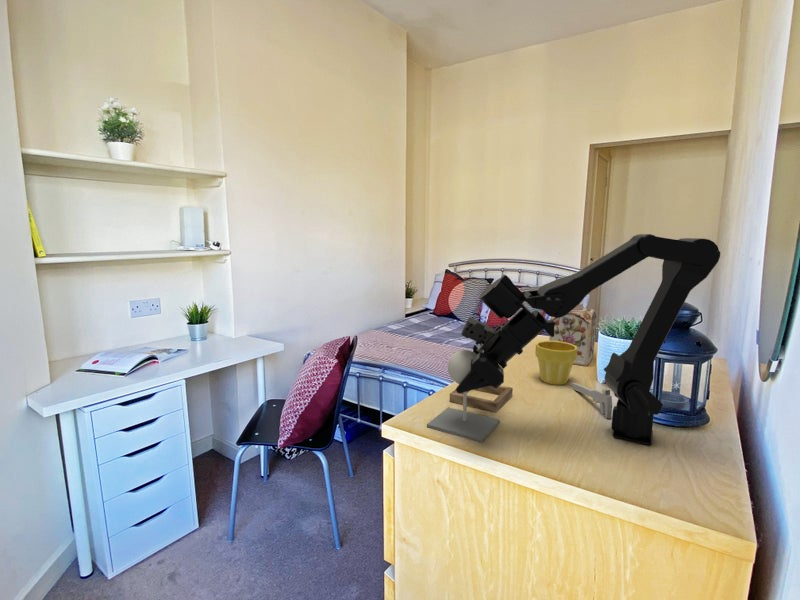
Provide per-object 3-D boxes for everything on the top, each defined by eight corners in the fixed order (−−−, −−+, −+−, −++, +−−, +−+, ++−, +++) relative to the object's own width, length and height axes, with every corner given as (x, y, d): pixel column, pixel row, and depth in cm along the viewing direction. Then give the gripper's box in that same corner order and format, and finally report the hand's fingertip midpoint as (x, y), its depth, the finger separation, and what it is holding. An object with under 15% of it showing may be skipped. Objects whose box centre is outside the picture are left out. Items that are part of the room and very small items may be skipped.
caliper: (611, 420, 89) (613, 392, 88) (606, 420, 89) (608, 392, 88) (572, 385, 110) (573, 362, 109) (568, 386, 110) (569, 362, 109)
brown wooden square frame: (512, 395, 103) (512, 387, 102) (496, 412, 93) (496, 403, 93) (468, 386, 109) (468, 379, 108) (449, 401, 99) (449, 393, 99)
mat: (499, 422, 88) (500, 419, 88) (482, 442, 80) (482, 439, 80) (448, 409, 95) (448, 407, 94) (426, 427, 86) (426, 424, 86)
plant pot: (581, 380, 113) (583, 344, 112) (565, 390, 106) (567, 352, 104) (544, 371, 120) (545, 338, 119) (527, 381, 113) (528, 345, 111)
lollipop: (475, 412, 91) (476, 345, 89) (487, 427, 84) (488, 354, 82) (443, 414, 90) (443, 346, 88) (452, 429, 83) (453, 356, 81)
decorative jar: (594, 357, 134) (598, 301, 131) (588, 367, 124) (592, 306, 121) (555, 351, 140) (558, 298, 137) (546, 360, 130) (549, 303, 128)
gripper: (486, 298, 91) (436, 345, 96) (485, 314, 73) (423, 371, 77) (523, 334, 91) (471, 380, 95) (531, 359, 73) (466, 415, 77)
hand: (458, 385), depth 86 cm, fingers closed on lollipop, 6 cm apart
